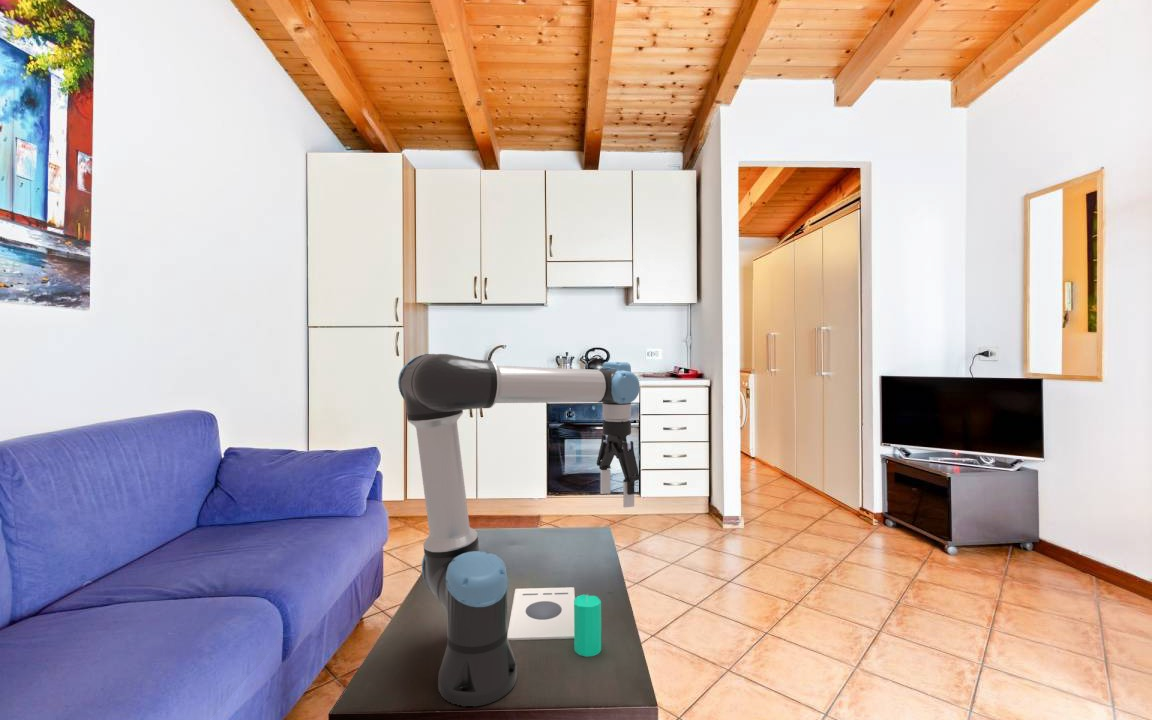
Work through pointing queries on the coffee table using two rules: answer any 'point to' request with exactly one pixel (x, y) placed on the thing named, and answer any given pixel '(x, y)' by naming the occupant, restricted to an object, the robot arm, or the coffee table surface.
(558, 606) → the paper pad
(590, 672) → the coffee table surface
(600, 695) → the coffee table surface
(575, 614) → the candle
